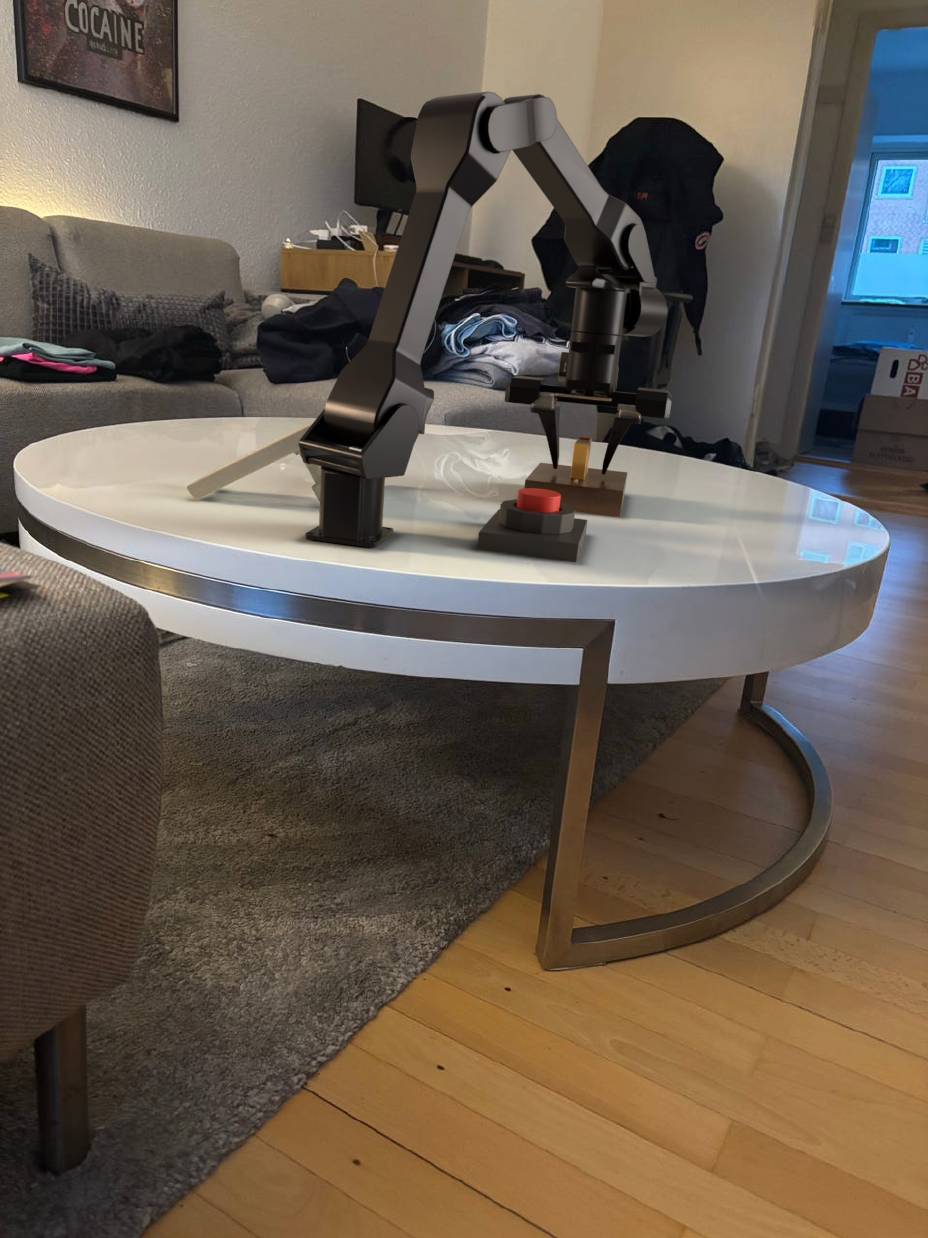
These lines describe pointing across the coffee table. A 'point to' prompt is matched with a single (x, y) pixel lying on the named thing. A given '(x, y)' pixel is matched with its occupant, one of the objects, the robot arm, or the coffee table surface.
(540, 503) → the bell button
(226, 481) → the door handle
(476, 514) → the coffee table surface
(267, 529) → the coffee table surface
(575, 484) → the plate
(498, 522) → the button base
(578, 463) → the upright gold plate
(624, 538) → the coffee table surface
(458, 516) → the coffee table surface
